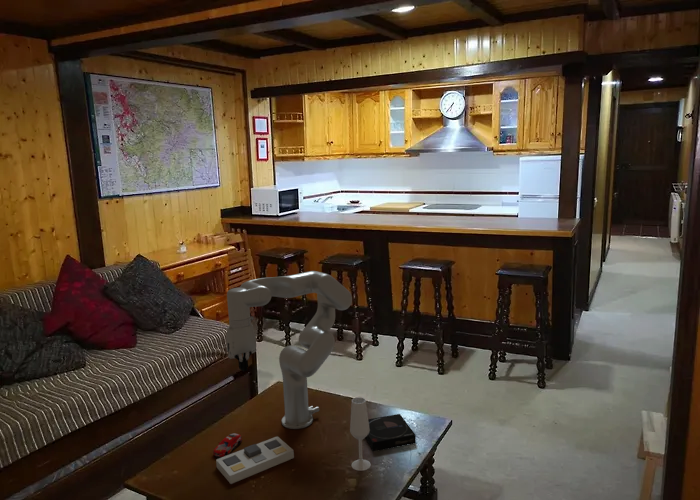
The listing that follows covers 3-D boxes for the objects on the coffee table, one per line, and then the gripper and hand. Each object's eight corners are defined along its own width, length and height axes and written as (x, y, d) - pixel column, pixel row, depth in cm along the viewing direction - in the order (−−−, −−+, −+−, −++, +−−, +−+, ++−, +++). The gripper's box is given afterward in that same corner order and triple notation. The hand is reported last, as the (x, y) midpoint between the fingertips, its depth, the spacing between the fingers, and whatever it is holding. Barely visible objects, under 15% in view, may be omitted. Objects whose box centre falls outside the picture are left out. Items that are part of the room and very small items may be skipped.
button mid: (255, 451, 193) (255, 443, 192) (261, 456, 189) (260, 449, 189) (244, 455, 190) (243, 448, 190) (250, 461, 187) (249, 453, 186)
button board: (277, 443, 200) (277, 435, 199) (293, 457, 190) (293, 449, 190) (216, 467, 186) (216, 459, 186) (230, 484, 177) (230, 475, 176)
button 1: (235, 463, 188) (234, 455, 188) (240, 468, 185) (240, 460, 184) (223, 467, 186) (222, 459, 185) (228, 473, 182) (228, 465, 182)
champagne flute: (357, 472, 180) (354, 407, 176) (347, 462, 186) (345, 398, 182) (374, 466, 183) (372, 401, 179) (364, 457, 189) (362, 394, 185)
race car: (222, 460, 191) (221, 450, 190) (210, 457, 193) (209, 447, 193) (244, 441, 203) (244, 432, 202) (233, 438, 205) (232, 429, 204)
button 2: (275, 447, 198) (275, 439, 197) (281, 452, 194) (281, 444, 193) (265, 451, 195) (264, 443, 194) (270, 456, 192) (270, 449, 191)
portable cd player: (399, 422, 213) (399, 413, 212) (415, 444, 197) (415, 434, 196) (359, 429, 209) (359, 419, 208) (373, 452, 193) (372, 442, 192)
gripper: (254, 315, 200) (257, 361, 203) (216, 324, 191) (220, 372, 195) (263, 320, 194) (266, 367, 197) (224, 329, 185) (228, 379, 189)
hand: (243, 370), depth 196 cm, fingers closed
